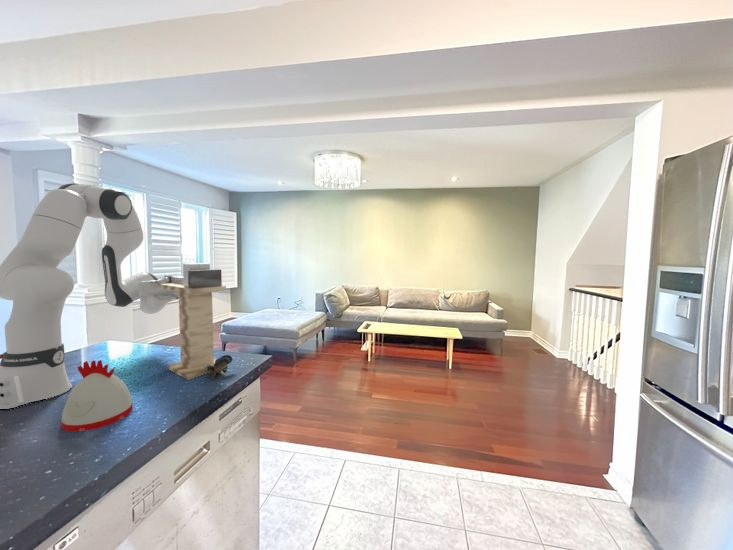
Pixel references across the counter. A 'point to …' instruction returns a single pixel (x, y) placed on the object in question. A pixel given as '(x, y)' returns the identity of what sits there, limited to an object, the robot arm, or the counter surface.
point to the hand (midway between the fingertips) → (173, 278)
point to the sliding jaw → (187, 267)
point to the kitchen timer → (96, 399)
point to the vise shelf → (196, 322)
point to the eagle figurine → (218, 365)
